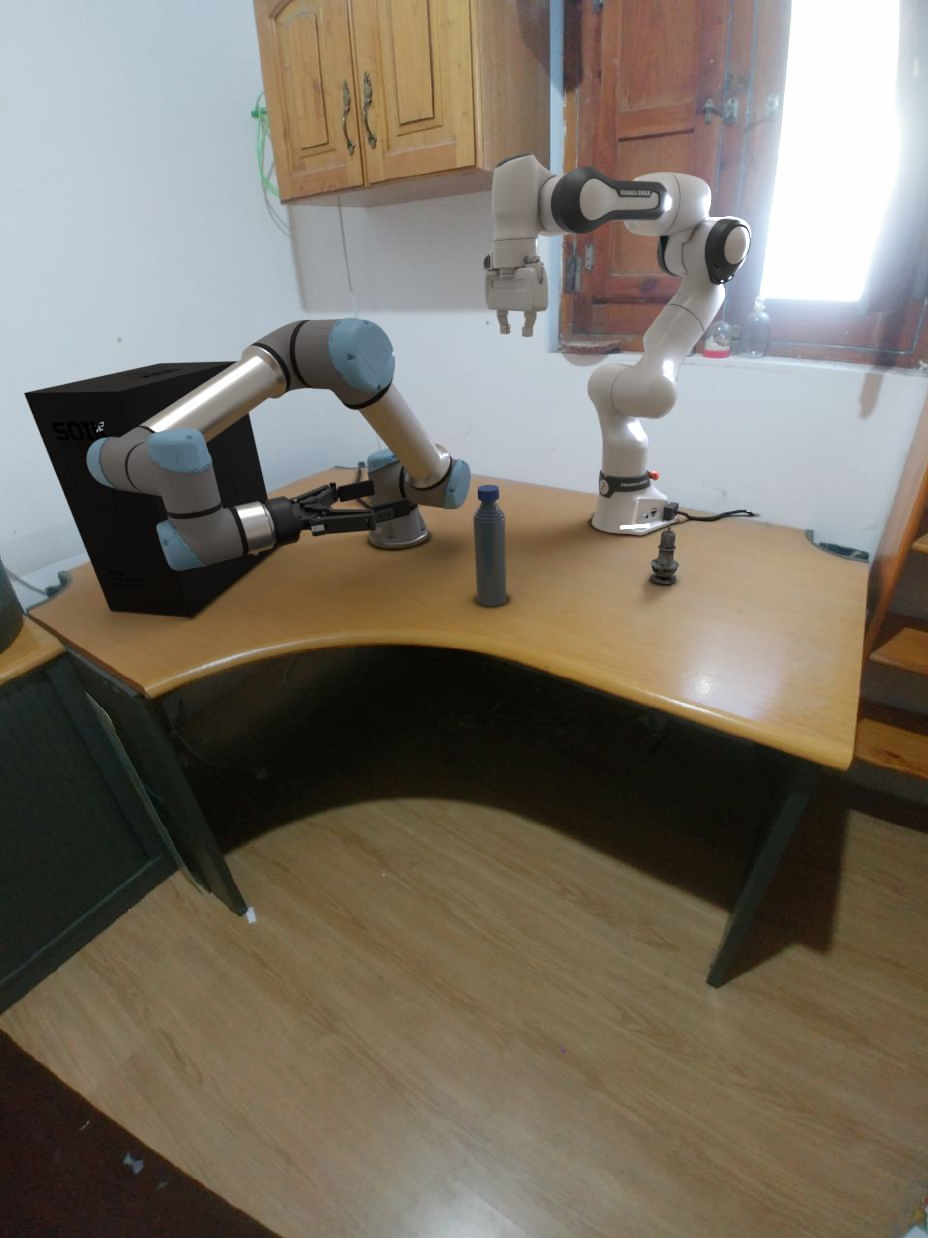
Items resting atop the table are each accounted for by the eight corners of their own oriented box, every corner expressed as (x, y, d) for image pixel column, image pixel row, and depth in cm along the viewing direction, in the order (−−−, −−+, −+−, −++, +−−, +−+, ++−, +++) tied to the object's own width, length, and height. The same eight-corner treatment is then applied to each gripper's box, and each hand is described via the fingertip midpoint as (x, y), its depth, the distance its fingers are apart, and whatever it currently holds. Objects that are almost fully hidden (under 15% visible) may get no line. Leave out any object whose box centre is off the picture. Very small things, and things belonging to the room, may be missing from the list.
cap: (492, 493, 118) (492, 483, 117) (503, 499, 115) (503, 488, 114) (474, 497, 117) (473, 487, 116) (484, 503, 113) (483, 492, 112)
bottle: (497, 590, 130) (494, 482, 118) (512, 601, 125) (510, 491, 114) (471, 597, 128) (466, 488, 116) (485, 609, 123) (481, 497, 111)
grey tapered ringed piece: (678, 585, 127) (686, 532, 121) (649, 584, 129) (655, 531, 123) (675, 573, 132) (683, 521, 126) (648, 572, 134) (653, 520, 128)
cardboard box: (191, 617, 126) (119, 391, 104) (110, 610, 131) (23, 392, 108) (278, 546, 158) (237, 360, 135) (210, 542, 162) (159, 363, 140)
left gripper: (251, 524, 105) (363, 499, 115) (298, 573, 87) (427, 538, 96) (242, 482, 102) (357, 460, 111) (288, 524, 83) (423, 492, 93)
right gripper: (557, 254, 111) (556, 336, 118) (505, 258, 127) (506, 331, 134) (528, 255, 109) (527, 339, 116) (478, 260, 125) (481, 333, 132)
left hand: (390, 496), depth 104 cm, fingers open, 13 cm apart
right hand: (516, 335), depth 125 cm, fingers open, 8 cm apart
